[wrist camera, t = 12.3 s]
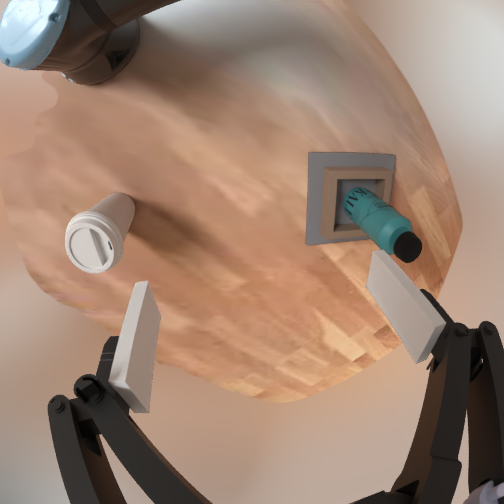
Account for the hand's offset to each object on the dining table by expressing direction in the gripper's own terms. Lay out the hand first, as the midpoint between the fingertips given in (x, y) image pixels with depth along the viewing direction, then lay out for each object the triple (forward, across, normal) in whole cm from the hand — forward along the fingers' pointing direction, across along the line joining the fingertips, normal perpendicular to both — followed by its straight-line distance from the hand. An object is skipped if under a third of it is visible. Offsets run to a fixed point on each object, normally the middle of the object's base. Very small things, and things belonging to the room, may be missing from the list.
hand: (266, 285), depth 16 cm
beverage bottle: (+33, +22, -9) cm, 41 cm away
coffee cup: (+34, -21, -6) cm, 41 cm away
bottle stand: (+34, +22, -9) cm, 42 cm away
